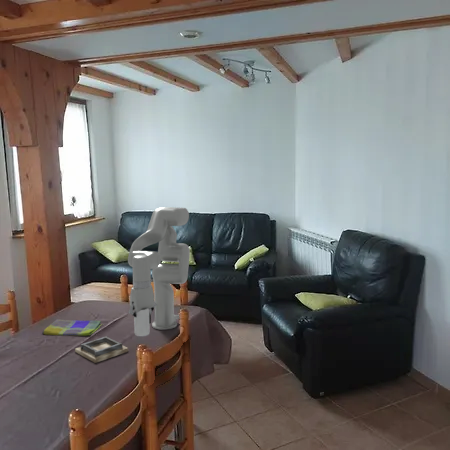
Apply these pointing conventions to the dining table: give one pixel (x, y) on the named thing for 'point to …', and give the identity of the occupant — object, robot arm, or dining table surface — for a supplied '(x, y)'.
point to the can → (142, 323)
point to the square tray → (101, 349)
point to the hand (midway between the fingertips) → (143, 324)
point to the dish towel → (72, 328)
